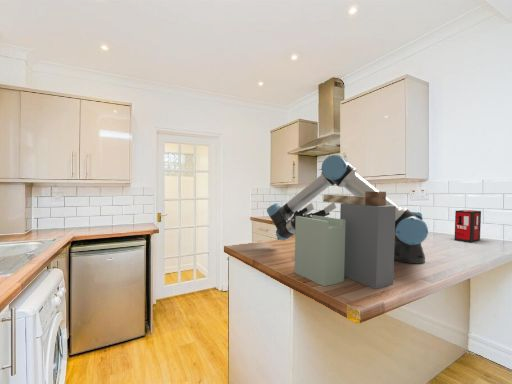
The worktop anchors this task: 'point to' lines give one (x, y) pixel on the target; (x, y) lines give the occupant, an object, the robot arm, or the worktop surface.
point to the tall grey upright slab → (369, 243)
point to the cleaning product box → (467, 225)
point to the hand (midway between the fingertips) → (324, 205)
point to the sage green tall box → (320, 249)
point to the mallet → (359, 198)
